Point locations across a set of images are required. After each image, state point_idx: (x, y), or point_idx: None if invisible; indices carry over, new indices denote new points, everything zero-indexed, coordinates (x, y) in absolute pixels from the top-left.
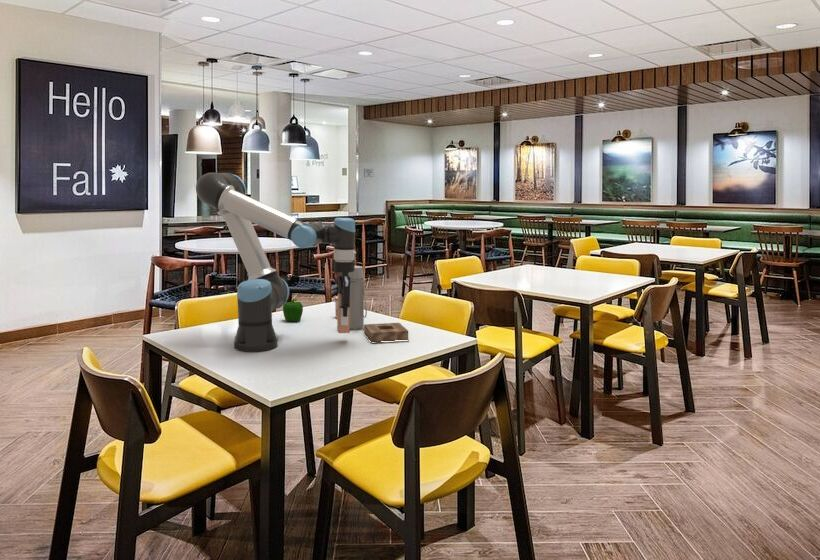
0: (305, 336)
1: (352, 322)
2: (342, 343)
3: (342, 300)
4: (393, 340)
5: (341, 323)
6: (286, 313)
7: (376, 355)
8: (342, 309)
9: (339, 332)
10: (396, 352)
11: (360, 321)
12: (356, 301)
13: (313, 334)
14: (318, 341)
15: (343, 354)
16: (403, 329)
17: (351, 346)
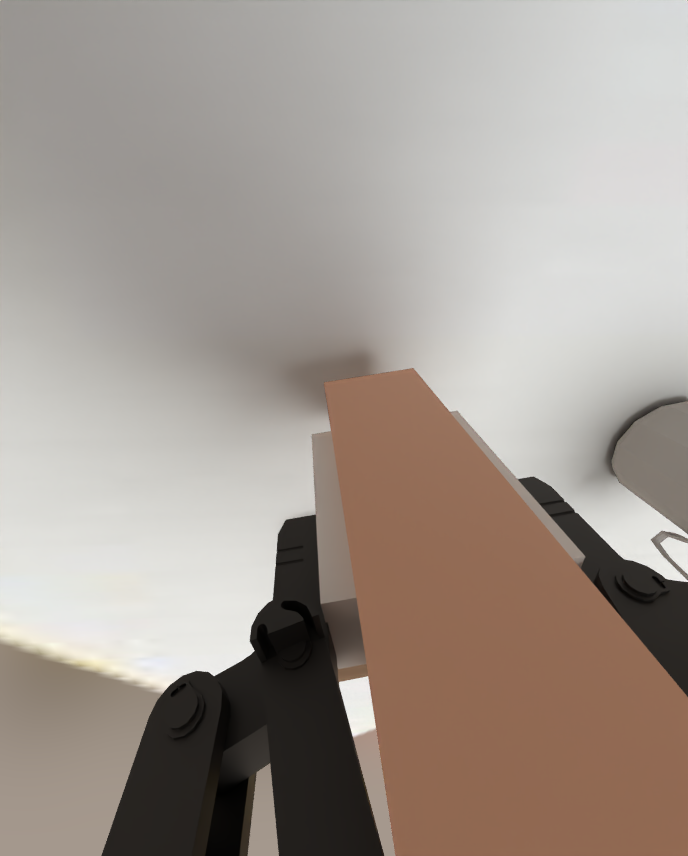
0: (599, 33)
1: (659, 455)
2: (310, 379)
3: (283, 838)
4: None
5: (313, 448)
6: None
7: (59, 548)
8: (321, 590)
9: (325, 389)
10: (140, 609)
11: (647, 498)
12: None
13: (633, 135)
14: (387, 187)
15: (18, 390)
16: (362, 669)
17: (235, 433)
